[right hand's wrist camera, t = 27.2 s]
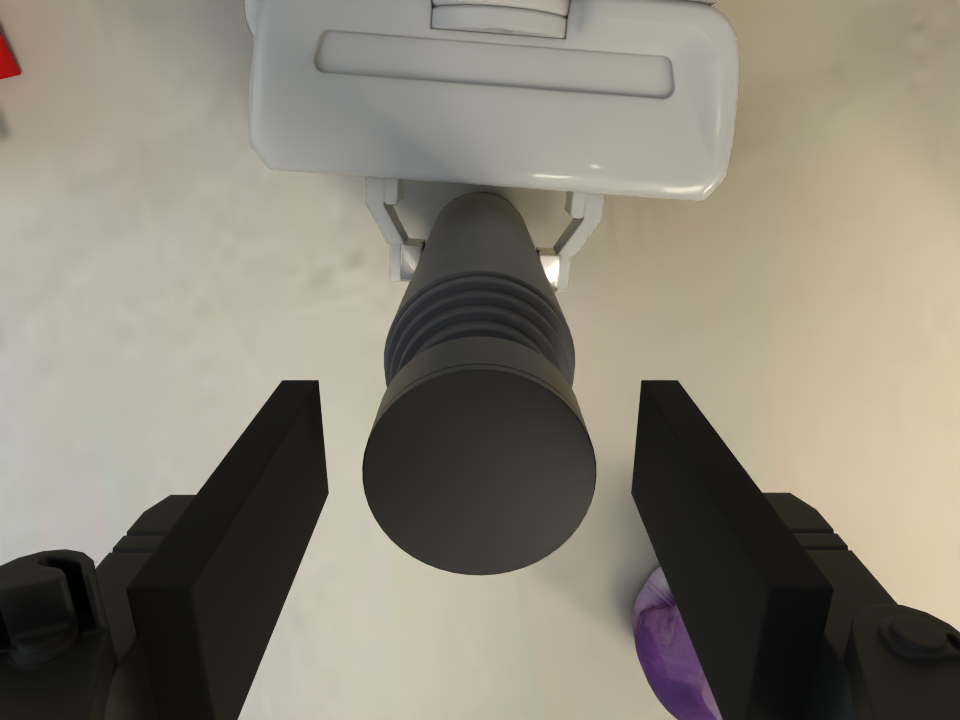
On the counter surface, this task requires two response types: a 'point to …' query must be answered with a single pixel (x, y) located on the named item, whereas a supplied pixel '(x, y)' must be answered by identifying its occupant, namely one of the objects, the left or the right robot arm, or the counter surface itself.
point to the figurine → (670, 653)
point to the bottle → (479, 288)
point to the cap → (479, 458)
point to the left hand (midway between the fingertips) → (479, 284)
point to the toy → (7, 62)
